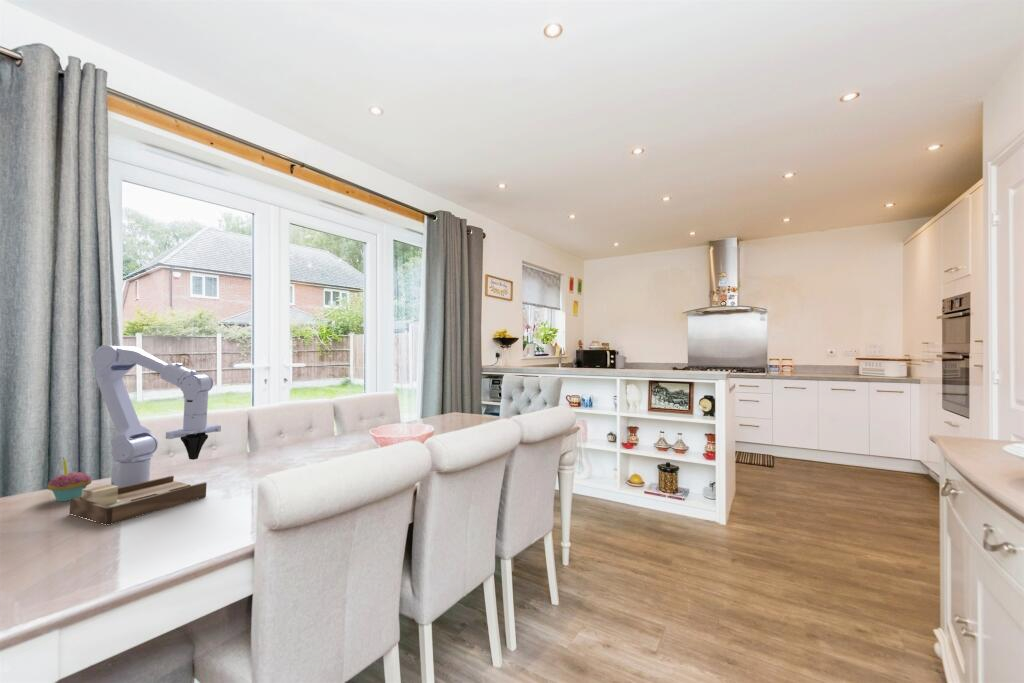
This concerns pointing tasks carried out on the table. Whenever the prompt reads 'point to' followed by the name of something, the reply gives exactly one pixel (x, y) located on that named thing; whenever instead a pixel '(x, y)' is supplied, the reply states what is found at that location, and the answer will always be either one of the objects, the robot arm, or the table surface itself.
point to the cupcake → (68, 484)
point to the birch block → (101, 494)
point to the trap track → (138, 500)
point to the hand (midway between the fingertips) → (193, 458)
